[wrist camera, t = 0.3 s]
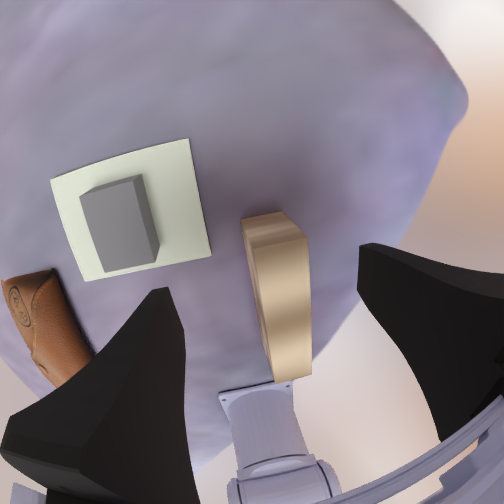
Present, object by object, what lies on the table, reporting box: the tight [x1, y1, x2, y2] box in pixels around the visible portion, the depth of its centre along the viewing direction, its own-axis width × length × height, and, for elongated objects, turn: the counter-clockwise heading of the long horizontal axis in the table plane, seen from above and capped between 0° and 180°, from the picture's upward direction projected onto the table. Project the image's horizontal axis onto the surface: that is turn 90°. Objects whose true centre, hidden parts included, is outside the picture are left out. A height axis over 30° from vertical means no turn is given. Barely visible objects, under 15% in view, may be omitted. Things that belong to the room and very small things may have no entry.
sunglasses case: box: [1, 270, 94, 388], centre depth 20 cm, size 18×7×7 cm, turn 4°
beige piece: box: [240, 211, 312, 384], centre depth 19 cm, size 12×3×5 cm, turn 9°
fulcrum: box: [50, 138, 211, 282], centre depth 16 cm, size 8×10×3 cm
